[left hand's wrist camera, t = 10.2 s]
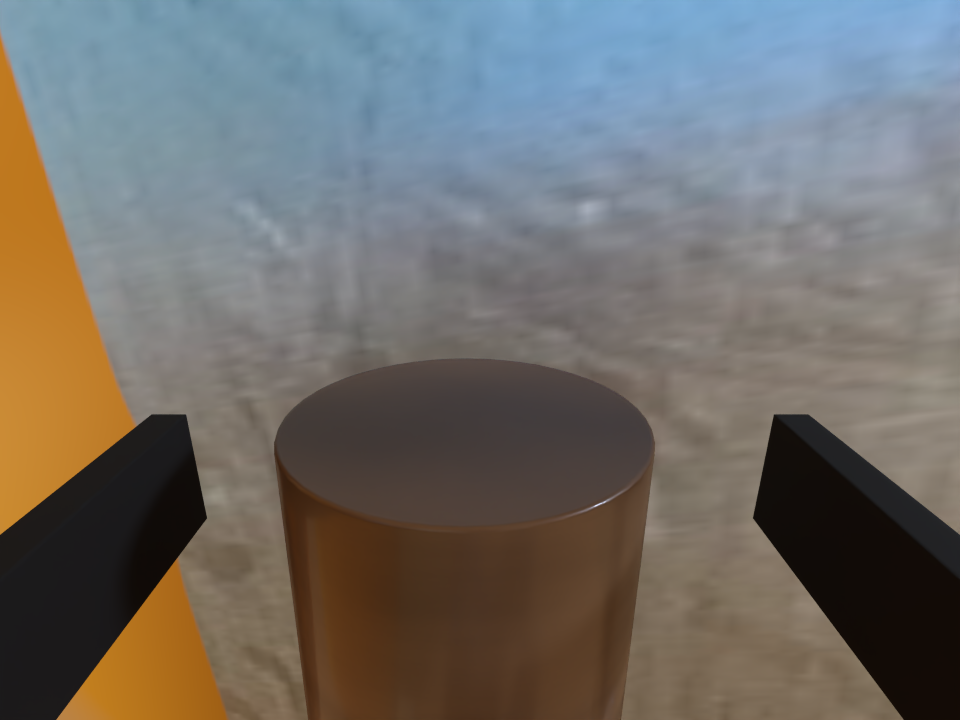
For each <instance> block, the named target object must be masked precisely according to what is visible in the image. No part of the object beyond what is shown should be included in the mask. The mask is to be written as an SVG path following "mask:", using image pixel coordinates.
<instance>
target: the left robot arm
mask: <svg viewBox="0 0 960 720" xmlns="http://www.w3.org/2000/svg"><path fill="white" fill-rule="evenodd" d="M206 519H207V516H206V511H205V506H204V501H203V496H202V491H201V486H200V481H199V476H198V471H197V466H196V461H195V457H194V452H193V447H192V442H191V437H190V432H189V427H188V422H187V417H186V415H150V416H149V417H148V418H147V419H145V420H144V421H143V422H142V423H140V424H139V425H138V426H137V427H135V428H134V429H133V430H132V431H130V432H129V433H128V434H127V435H125V436H124V437H123V438H122V439H120V440H119V441H118V442H116V443H115V444H114V445H113V446H111V447H110V448H109V449H108V450H106V451H105V452H104V453H103V454H101V455H100V456H99V457H98V458H96V459H95V460H94V461H93V462H91V463H90V464H89V465H88V466H86V467H85V468H84V469H83V470H81V471H80V472H79V473H77V474H76V475H75V476H74V477H72V478H71V479H70V480H69V481H67V482H66V483H65V484H64V485H62V486H61V487H60V488H59V489H57V490H56V491H55V492H54V493H52V494H51V495H50V496H49V497H47V498H46V499H45V500H44V501H42V502H41V503H40V504H39V505H37V506H36V507H35V508H34V509H32V510H31V511H30V512H28V513H27V514H26V515H25V516H23V517H22V518H21V519H20V520H18V521H17V522H16V523H15V524H13V525H12V526H11V527H10V528H8V529H7V530H6V531H5V532H3V533H2V534H1V535H0V720H56V719H57V718H58V716H59V715H60V714H61V713H62V711H63V710H64V709H65V707H66V706H67V705H68V703H69V702H70V700H71V699H72V698H73V696H74V695H75V694H76V692H77V691H78V690H79V688H80V687H81V686H82V684H83V683H84V682H85V680H86V679H87V678H88V676H89V675H90V674H91V672H92V671H93V670H94V668H95V667H96V666H97V664H98V663H99V662H100V660H101V659H102V658H103V656H104V655H105V654H106V652H107V651H108V650H109V648H110V647H111V646H112V644H113V643H114V642H115V640H116V639H117V638H118V636H119V635H120V634H121V632H122V631H123V630H124V628H125V627H126V626H127V624H128V623H129V622H130V620H131V619H132V618H133V616H134V615H135V614H136V612H137V611H138V610H139V608H140V607H141V606H142V604H143V603H144V602H145V600H146V599H147V598H148V596H149V595H150V594H151V592H152V591H153V590H154V588H155V587H156V586H157V584H158V583H159V582H160V580H161V579H162V578H163V576H164V575H165V574H166V572H167V571H168V570H169V568H170V567H171V566H172V564H173V563H174V562H175V560H176V559H177V558H178V556H179V555H180V554H181V552H182V551H183V550H184V548H185V547H186V546H187V544H188V543H189V542H190V540H191V539H192V538H193V536H194V535H195V534H196V532H197V531H198V530H199V528H200V527H201V526H202V524H203V523H204V522H205V520H206ZM753 519H754V520H755V522H756V523H757V524H758V526H759V527H760V528H761V530H762V531H763V532H764V534H765V535H766V536H767V538H768V539H769V540H770V542H771V543H772V544H773V546H774V547H775V548H776V550H777V551H778V552H779V554H780V555H781V556H782V558H783V559H784V560H785V562H786V563H787V564H788V566H789V567H790V568H791V570H792V571H793V572H794V574H795V575H796V576H797V578H798V579H799V580H800V582H801V583H802V584H803V586H804V587H805V588H806V590H807V591H808V592H809V594H810V595H811V596H812V598H813V599H814V600H815V602H816V603H817V604H818V606H819V607H820V608H821V610H822V611H823V612H824V614H825V615H826V616H827V618H828V619H829V620H830V622H831V623H832V624H833V626H834V627H835V628H836V630H837V631H838V632H839V634H840V635H841V636H842V638H843V639H844V640H845V642H846V643H847V644H848V646H849V647H850V648H851V650H852V651H853V652H854V654H855V655H856V656H857V658H858V659H859V660H860V662H861V663H862V664H863V666H864V667H865V668H866V670H867V671H868V672H869V674H870V675H871V676H872V678H873V679H874V680H875V682H876V683H877V684H878V686H879V687H880V688H881V690H882V691H883V692H884V694H885V695H886V696H887V698H888V699H889V700H890V702H891V703H892V705H893V706H894V707H895V709H896V710H897V711H898V713H899V714H900V715H901V717H902V718H903V719H904V720H960V535H959V534H958V533H957V532H955V531H954V530H953V529H952V528H950V527H949V526H948V525H947V524H945V523H944V522H943V521H942V520H940V519H939V518H938V517H937V516H935V515H934V514H933V513H932V512H930V511H929V510H928V509H927V508H925V507H924V506H923V505H922V504H920V503H919V502H918V501H916V500H915V499H914V498H913V497H911V496H910V495H909V494H908V493H906V492H905V491H904V490H903V489H901V488H900V487H899V486H898V485H896V484H895V483H894V482H893V481H891V480H890V479H889V478H888V477H886V476H885V475H884V474H883V473H881V472H880V471H879V470H877V469H876V468H875V467H874V466H872V465H871V464H870V463H869V462H867V461H866V460H865V459H864V458H862V457H861V456H860V455H859V454H857V453H856V452H855V451H854V450H852V449H851V448H850V447H849V446H847V445H846V444H845V443H844V442H842V441H841V440H840V439H838V438H837V437H836V436H835V435H833V434H832V433H831V432H830V431H828V430H827V429H826V428H825V427H823V426H822V425H821V424H820V423H818V422H817V421H816V420H815V419H813V418H812V417H811V416H810V415H774V417H773V422H772V427H771V432H770V437H769V442H768V447H767V452H766V457H765V461H764V466H763V471H762V476H761V481H760V486H759V491H758V496H757V501H756V506H755V511H754V516H753Z"/></svg>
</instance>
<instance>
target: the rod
mask: <svg viewBox="0 0 960 720" xmlns="http://www.w3.org/2000/svg"><path fill="white" fill-rule="evenodd" d="M654 452H655V441H654V437H653V433H652V429H651V427H650V426H649V424H648V422H647V420H646V418H645V417H644V416H643V415H642V413H641V412H640V411H639V410H638V409H637V408H636V407H635V406H634V405H633V404H632V403H630V402H629V401H628V400H627V399H625V398H624V397H622V396H621V395H619V394H618V393H616V392H615V391H613V390H611V389H609V388H607V387H605V386H603V385H601V384H599V383H596V382H594V381H592V380H589V379H587V378H584V377H581V376H578V375H575V374H572V373H568V372H565V371H561V370H558V369H554V368H549V367H544V366H540V365H534V364H528V363H522V362H513V361H505V360H491V359H441V360H428V361H418V362H410V363H404V364H397V365H392V366H388V367H383V368H378V369H374V370H370V371H367V372H363V373H360V374H357V375H354V376H350V377H347V378H345V379H342V380H340V381H337V382H335V383H332V384H330V385H328V386H326V387H324V388H322V389H320V390H318V391H316V392H315V393H313V394H312V395H310V396H308V397H307V398H305V399H304V400H303V401H301V402H300V403H299V404H298V405H297V406H295V407H294V408H293V409H292V410H291V411H290V412H289V414H288V415H287V416H286V417H285V418H284V420H283V422H282V423H281V425H280V427H279V429H278V431H277V435H276V438H275V442H274V455H275V463H276V471H277V479H278V487H279V495H280V502H281V510H282V518H283V526H284V534H285V542H286V549H287V557H288V565H289V573H290V581H291V588H292V596H293V604H294V612H295V620H296V628H297V635H298V643H299V651H300V659H301V667H302V675H303V682H304V690H305V698H306V706H307V714H308V720H621V715H622V707H623V699H624V692H625V684H626V676H627V668H628V660H629V652H630V644H631V636H632V628H633V620H634V612H635V604H636V596H637V588H638V581H639V573H640V565H641V557H642V549H643V541H644V533H645V525H646V517H647V509H648V501H649V493H650V485H651V477H652V470H653V462H654Z"/></svg>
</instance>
